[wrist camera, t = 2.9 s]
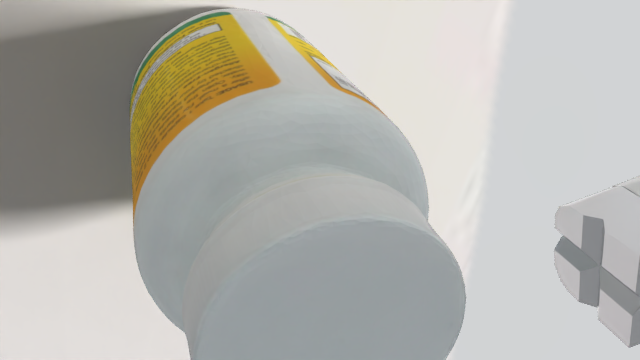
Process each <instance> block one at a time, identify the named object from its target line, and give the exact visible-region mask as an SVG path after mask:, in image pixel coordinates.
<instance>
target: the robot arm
mask: <svg viewBox="0 0 640 360" xmlns="http://www.w3.org/2000/svg"><path fill="white" fill-rule="evenodd" d="M555 228H556V229H557V230H558V231H559V232H560V233H561V234H562V235H563V236H562V237H561V239H560V241H559V243H558V244H557V246H556V247H555V250H554V256H555V267H556V269H557V272H558V275H559V278H560V280H561V282H562V283H563V285H564V286H565V288H566V289H567V290H568V292H569V293H570V294H571V295H572V296H573V297H574V298H576V299H577V300H578V301H579V302H581V303H585V304H588V305H591V306H594V307H597V313H598V320H599V321H600V322H602V324H604V325H605V326H606V327H607V328H608V329H609V330H610V331H611V332H613V334H614V335H616V336H617V337H618V338H619V339H620V340H621V341H622V342H623V343H624V344H625V345H627V346H628V347H633V346H635V345H638V344H640V176H638V177H636V178H633V179H630V180H627V181H625V182H622V183H620V184H617V185H615V186H613V187H612V188H608V189H605V190H603V191H600V192H597V193H594V194H592V195H589V196H587V197H584V198H581V199H578V200H576V201H573V202H570V203H568V204H565V205H562V206H560V207H559V208H558V210H557V212H556V215H555Z"/></svg>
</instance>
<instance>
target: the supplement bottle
mask: <svg viewBox="0 0 640 360" xmlns="http://www.w3.org/2000/svg"><path fill="white" fill-rule="evenodd" d="M130 143H131V168H132V190H133V231H134V247H135V253H136V259H137V263H138V267H139V271H140V274H141V277H142V279H143V281H144V284H145V286H146V288H147V290H148V292H149V294H150V295H151V297H152V298H153V300H154V302H155V303H156V305H157V306H158V307H159V308H160V310H161V311H162V312H163V313H164V314H165V316H166V317H167V318H168V319H169V320H170V321H171V322H172V323H173V324H175V325H176V326H177V327H178V328H180V329H181V330H182V331H183V332H185V334H186V337H187V341H188V346H189V352H190V358H191V360H446V358H447V356H448V355H449V353H450V351H451V349H452V348H453V346H454V344H455V342H456V339H457V337H458V335H459V332H460V329H461V327H462V323H463V318H464V312H465V303H466V293H465V284H464V281H463V277H462V273H461V269H460V267H459V265H458V262H457V261H456V259H455V257H454V255H453V254H452V252H451V251H450V249H449V248H448V247H447V245H446V244H445V243H444V241H443V240H442V239H441V238H440V237H439V235H438V234H437V233H436V232H435V231H434V229H433V228H432V227H431V226H430V224H429V223H428V210H429V205H428V193H427V186H426V181H425V177H424V173H423V170H422V167H421V165H420V162H419V160H418V158H417V156H416V154H415V152H414V150H413V148H412V147H411V145H410V143H409V142H408V140H407V139H406V137H405V136H404V135H403V133H402V132H401V131H400V130H399V128H398V127H397V126H396V125H395V124H394V123H393V122H392V121H391V120H390V119H389V118H388V117H387V116H386V115H385V114H384V113H383V112H382V111H381V110H380V109H379V108H378V107H377V106H376V105H375V104H374V103H373V102H372V101H371V100H370V99H369V98H368V97H366V96H365V95H364V94H363V93H362V92H361V91H360V90H359V89H358V88H357V87H356V86H355V85H354V84H353V83H352V82H351V81H350V80H349V79H348V78H347V77H346V76H344V75H343V74H342V73H341V72H340V71H339V70H338V69H337V68H336V67H335V66H334V65H333V64H332V63H330V62H329V61H328V59H327V58H326V57H325V56H324V55H323V54H322V53H321V52H319V51H318V50H317V49H316V48H315V47H314V46H313V45H312V44H311V43H310V42H308V41H307V40H306V39H305V38H304V37H303V36H302V35H301V34H299V33H298V32H297V31H296V30H294V29H293V28H292V27H290V26H289V25H288V24H286V23H284V22H283V21H281V20H279V19H277V18H275V17H273V16H270V15H268V14H265V13H262V12H258V11H254V10H247V9H237V8H229V9H218V10H212V11H207V12H204V13H200V14H198V15H196V16H193V17H191V18H189V19H187V20H186V21H184V22H182V23H180V24H179V25H177V26H176V27H174V28H173V29H171V30H170V31H168V32H167V33H166V34H165V35H164V36H162V37H161V38H160V39H159V40H158V41H157V42H156V43H155V44H154V45H153V46H152V48H151V49H150V50H149V51H148V53H147V54H146V56H145V57H144V59H143V60H142V62H141V64H140V66H139V68H138V70H137V72H136V75H135V78H134V82H133V85H132V90H131V97H130Z"/></svg>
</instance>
